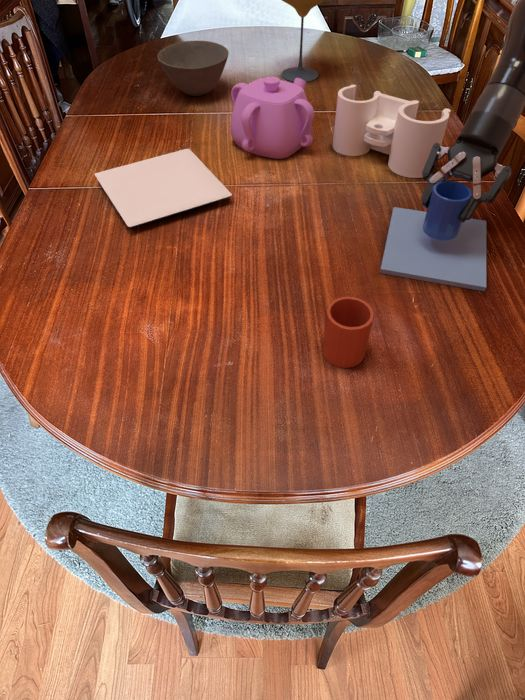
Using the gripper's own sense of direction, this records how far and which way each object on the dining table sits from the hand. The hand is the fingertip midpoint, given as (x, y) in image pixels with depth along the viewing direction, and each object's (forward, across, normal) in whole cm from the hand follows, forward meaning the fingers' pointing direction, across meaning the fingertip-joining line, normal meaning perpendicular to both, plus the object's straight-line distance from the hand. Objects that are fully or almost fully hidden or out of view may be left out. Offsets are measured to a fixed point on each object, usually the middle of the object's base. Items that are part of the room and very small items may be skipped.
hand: (442, 213), depth 88 cm
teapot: (-6, -49, +18) cm, 53 cm away
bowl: (-12, -83, +24) cm, 87 cm away
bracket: (-12, -25, +24) cm, 36 cm away
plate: (+17, -54, -5) cm, 57 cm away
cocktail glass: (-31, -67, +43) cm, 85 cm away
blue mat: (+5, 0, +7) cm, 9 cm away
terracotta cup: (+28, 0, -16) cm, 32 cm away
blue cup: (+2, 0, +4) cm, 5 cm away
